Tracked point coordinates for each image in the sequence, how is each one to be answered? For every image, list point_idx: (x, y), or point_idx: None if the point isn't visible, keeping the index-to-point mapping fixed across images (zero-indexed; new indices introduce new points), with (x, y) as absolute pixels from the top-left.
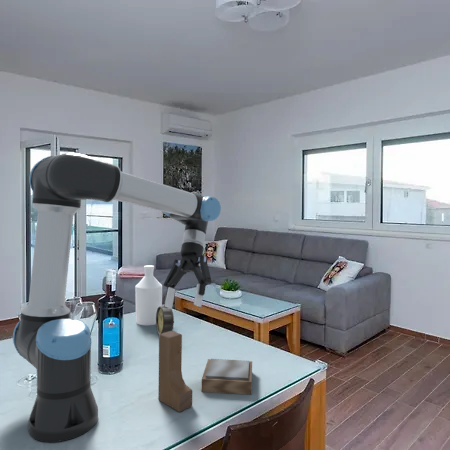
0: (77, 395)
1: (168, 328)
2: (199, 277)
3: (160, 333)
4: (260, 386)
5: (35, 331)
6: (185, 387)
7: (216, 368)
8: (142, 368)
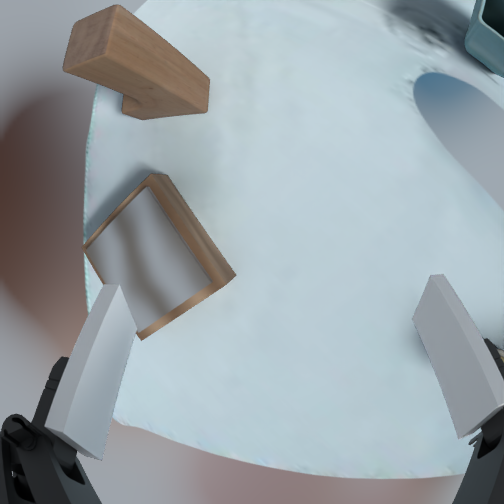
0: None
1: None
2: (37, 491)
3: (498, 351)
4: None
5: None
6: (131, 102)
7: (155, 239)
8: (389, 155)
